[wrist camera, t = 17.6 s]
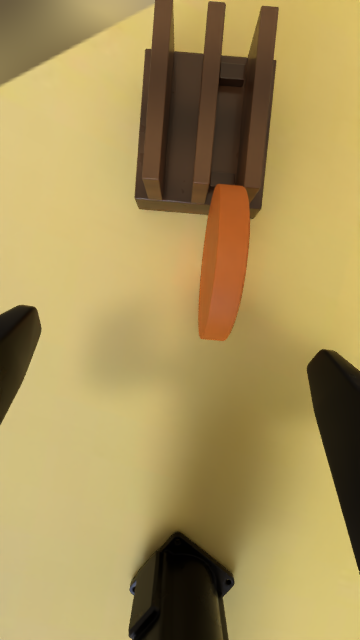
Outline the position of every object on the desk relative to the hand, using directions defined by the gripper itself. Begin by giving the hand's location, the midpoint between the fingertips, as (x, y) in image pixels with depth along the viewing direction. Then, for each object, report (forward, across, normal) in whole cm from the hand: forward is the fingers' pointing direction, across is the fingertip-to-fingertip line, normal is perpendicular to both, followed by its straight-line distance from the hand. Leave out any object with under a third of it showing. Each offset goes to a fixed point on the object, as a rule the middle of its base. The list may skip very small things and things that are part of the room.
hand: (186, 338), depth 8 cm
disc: (+11, -3, +5) cm, 13 cm away
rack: (+18, -1, -3) cm, 18 cm away
